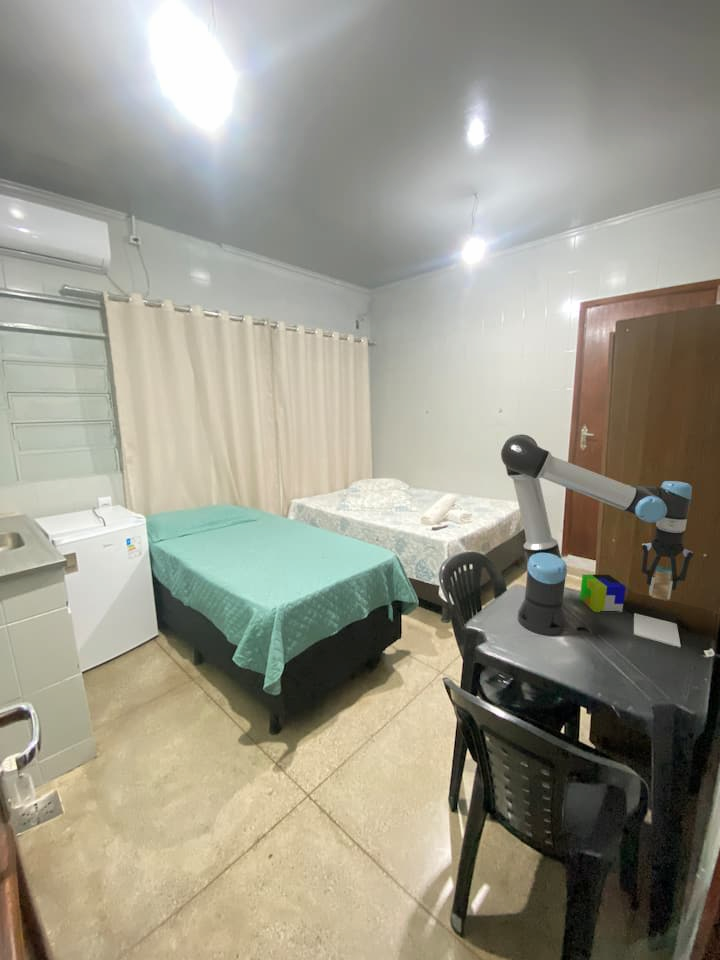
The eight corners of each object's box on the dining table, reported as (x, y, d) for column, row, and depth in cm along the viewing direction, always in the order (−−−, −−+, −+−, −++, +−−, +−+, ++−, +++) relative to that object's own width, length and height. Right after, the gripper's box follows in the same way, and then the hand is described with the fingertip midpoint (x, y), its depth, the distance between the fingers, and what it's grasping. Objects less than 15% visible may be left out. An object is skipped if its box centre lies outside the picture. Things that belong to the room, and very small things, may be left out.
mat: (633, 634, 129) (634, 633, 129) (633, 614, 141) (634, 613, 141) (680, 647, 122) (680, 645, 122) (676, 625, 135) (676, 623, 134)
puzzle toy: (622, 612, 143) (625, 586, 141) (594, 612, 143) (597, 586, 141) (605, 598, 153) (608, 574, 151) (579, 598, 153) (582, 574, 151)
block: (651, 597, 131) (656, 569, 129) (651, 592, 135) (655, 565, 133) (667, 600, 129) (671, 572, 127) (666, 595, 132) (670, 568, 130)
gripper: (638, 527, 129) (628, 593, 134) (706, 537, 119) (693, 608, 124) (637, 521, 135) (628, 584, 140) (703, 530, 125) (690, 598, 130)
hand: (659, 595), depth 132 cm, fingers closed on block, 4 cm apart
